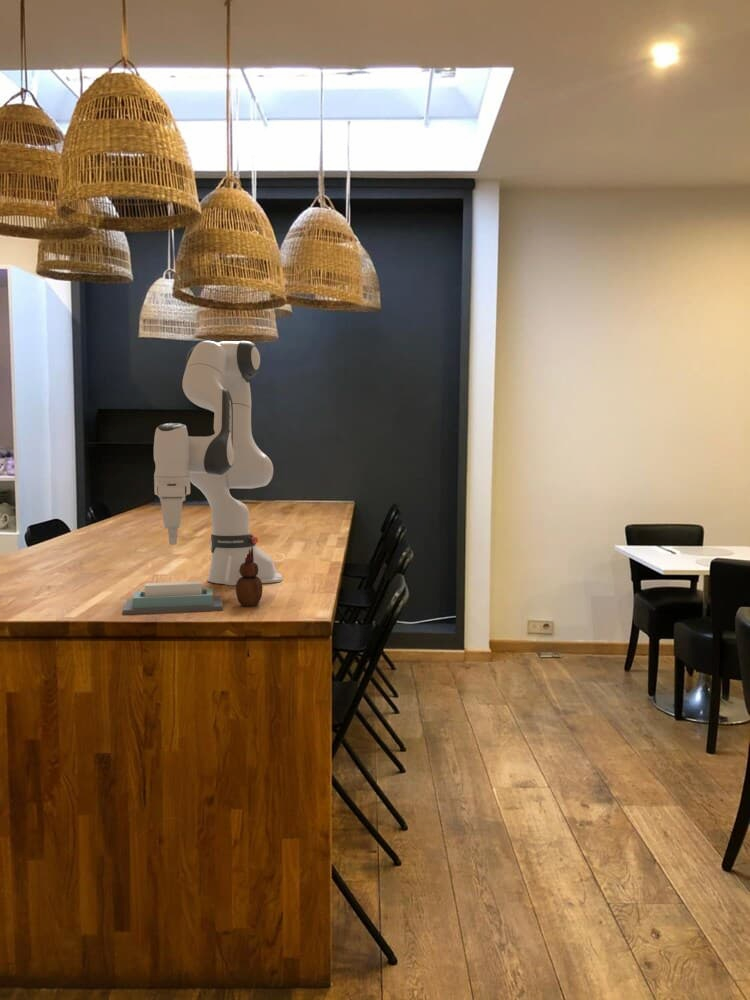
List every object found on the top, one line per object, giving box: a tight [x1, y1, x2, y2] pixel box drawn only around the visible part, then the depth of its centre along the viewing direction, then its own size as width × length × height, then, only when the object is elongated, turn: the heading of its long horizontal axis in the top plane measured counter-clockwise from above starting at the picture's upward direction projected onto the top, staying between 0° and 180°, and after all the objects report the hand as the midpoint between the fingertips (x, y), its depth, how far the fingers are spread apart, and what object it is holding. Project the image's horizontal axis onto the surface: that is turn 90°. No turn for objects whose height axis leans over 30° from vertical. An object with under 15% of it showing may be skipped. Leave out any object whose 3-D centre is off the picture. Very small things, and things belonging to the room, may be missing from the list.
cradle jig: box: [122, 587, 223, 615], centre depth 195 cm, size 24×13×4 cm, turn 103°
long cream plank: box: [144, 580, 203, 597], centre depth 195 cm, size 14×4×5 cm, turn 105°
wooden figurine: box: [235, 547, 263, 607], centre depth 197 cm, size 7×6×15 cm
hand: (173, 541), depth 194 cm, fingers open, 8 cm apart
